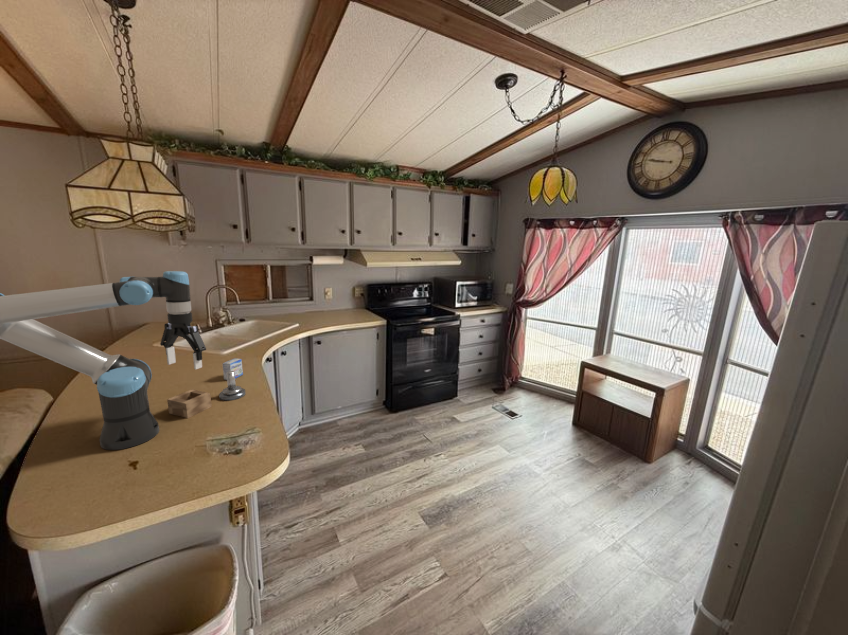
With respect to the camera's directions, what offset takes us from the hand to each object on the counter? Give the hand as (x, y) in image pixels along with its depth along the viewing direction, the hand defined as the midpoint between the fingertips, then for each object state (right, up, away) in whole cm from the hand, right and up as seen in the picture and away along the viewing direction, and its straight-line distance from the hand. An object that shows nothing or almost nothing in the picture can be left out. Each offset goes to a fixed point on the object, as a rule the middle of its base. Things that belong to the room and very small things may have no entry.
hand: (184, 365), depth 129 cm
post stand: (+9, -16, +17) cm, 25 cm away
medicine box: (-2, -11, +37) cm, 39 cm away
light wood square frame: (0, -18, +3) cm, 19 cm away
